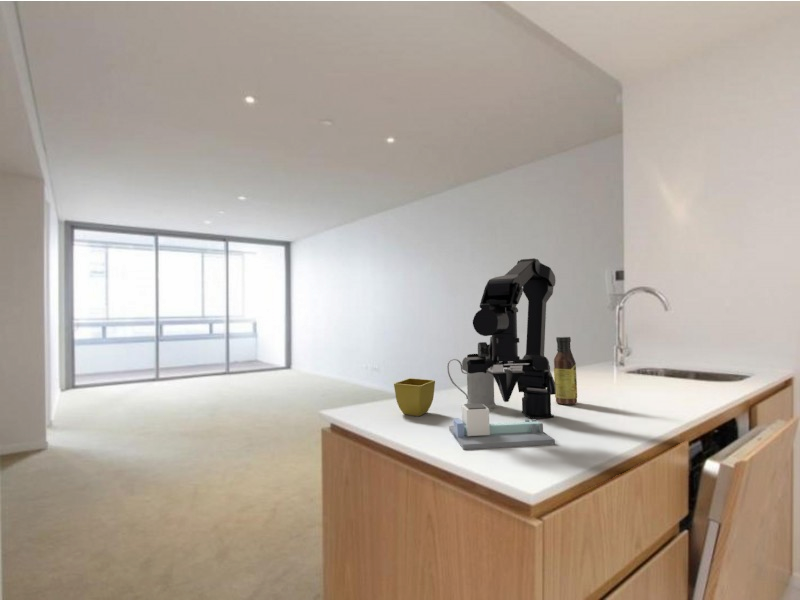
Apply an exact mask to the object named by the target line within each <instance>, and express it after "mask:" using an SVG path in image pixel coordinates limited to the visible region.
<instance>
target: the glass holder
mask: <svg viewBox="0 0 800 600" xmlns="http://www.w3.org/2000/svg"><path fill="white" fill-rule="evenodd" d="M466 357H479V356H478V353H471V354H467V356H466ZM480 358H482V359H484V360H486V356H481V357H480ZM453 361H457V362H458V364H459V365H460V371H461V373H462V374H465V375H466V385H467V387H466V389H467V392H465V391H464V390H463V389H462V388H460V387H459V386H458V385H457V383H455V382H454V380H453V378H452V376H451V373H450V368H449V367H450V364H451V362H453ZM487 370H488V368H486V369H485V370H484V371H483V372H478V373H468V372H466V371H464V370H463V369H462V362H461V361H460V360H459V359H458V358H452V359H449V361H448V363H447V373H448V377H449V379H450V381H451V383H452V384H453V386H455V387H456V388H457V389H458V390H459V391H461V392H462V394H464V396H466V397H465V398H466V401H467V402H466V404H477V403H481V404H483V405H484V406H486V407H487V408H488V409H489V410H490V409H493V408H496V407H497V405H496V402H495V378H494V377H493V375H491V374H489V373H487Z"/></svg>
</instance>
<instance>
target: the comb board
mask: <svg viewBox="0 0 800 600" xmlns="http://www.w3.org/2000/svg"><path fill="white" fill-rule="evenodd" d="M452 421H453V425H449V426H448V430H449V432H450V433H451V435H452V436H453V438H454V439H455V440H456V442H457V443H458V444H459V445H460V447H461V448H462V449H463V450H475V449H476V450H479V449H492V448H509V447H511V448H512V447H529V446H531V447H532V446H547V445H548V446H549V445H556V439H555V438H553V436H551V435H549V434H548V433H546V432H545V431H544V423H542V422H539V421H537V418H531V420H530V419H524V421H520V422H519V421H518V422H517V421H515V422H504V423H503V422H502V423H501V422H498V423H489V426H490V435H479V436H467V435H466V424H465V425H464V423H463V422H462V418H453V419H452Z"/></svg>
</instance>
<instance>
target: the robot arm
mask: <svg viewBox="0 0 800 600" xmlns="http://www.w3.org/2000/svg"><path fill="white" fill-rule="evenodd" d="M555 285H556V275H555V273H554V271H553V269H552V268H551V267H550V266H548V265H545V264H543V263H541V261H540V260H539V259H538V258H523V259H520V260H517V263H516V265H514V266H513V267H512V268H511V269H510V270H509V271H507V272H506V273H505V274H504V275H500V276H495V277H493V278H489V280H487V282H486V284H485V286H484V290H483V293H482V297H481V300H480V303H479V310H478V311H477V312H476V313H475V314H474V317H473V319H472V327H473V330H475V332H476V333H477V334H479V335H480V336H482V337H488V336H490V339H489V344H488V343H487V342H486V341H482V342H481V341H480V342H478V343H477V354H478V356H479V357H467V356H465V357H464V358H463V359H462V362H461V364H462V370H463V371H464V372H468V373H478V372H483V371H484V370H485V369H486V368H488V370H487V373H489V374H491V375H493V377H494V381H495V382H496V385H497V387H498V389H499V392H500V394H501V397H502V400H503V402H504V403H508V402H509V401H510V399H511V396H512V394H513V392H514V390H515V387H516V384H517V388H518V393H523V397H521V409H522V410H521V414H524V416H526V417H528V418H529V419H548V418H550V419H551V418H554V417H555V416H554V414H553V413H552V403H551V402H552V401H551V400H552V397H551V396H552V395H555V394H556V384H555V382H554V377H553V374H552V372H551V366H550V360H549V359H548V358H547V357H546V356H545V344H546V341H545V340H546V322H547V321H546V319H547V313H546V312H547V302H548V301H549V300H550V298H551V297H552V295H553V293H554V287H555ZM523 293H524V294H523ZM522 295H524V296H525V297H526V299H527V301H528V302H527V303H528V304H527V323H526V324H527V325H526V326H527V327H526V344H525V346H526V347H525V350H526V351H525V355H524V356H523V357H522V358H520V355H519V354H518V353H519V352H518V351H519V350H518V347H519V346H518V343H520V338H519V337H518V324H517V323H518V319H517V317H518V316H517V314H518V313H519V309H518V307H517V306H518V305H519V304H520V301H521V298H522ZM481 356H486V360H484V359H482V358H480V357H481Z"/></svg>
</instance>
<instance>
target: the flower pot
mask: <svg viewBox="0 0 800 600" xmlns="http://www.w3.org/2000/svg"><path fill="white" fill-rule="evenodd" d="M435 386H436V380H435V379H425V378H424V379H421V378H414V377H410V378H406V379H404V380H400V381H397V382H394V383H393V388H394V393H395V399H396V403H397V405H398V408H399V410H400V411H401V412H402V413H403V415H409V416H415V417H419V416H422V415H424V414H427V413H428V412H429V409H430V408H431V406H432V403H433V400H434V395H435Z"/></svg>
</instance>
